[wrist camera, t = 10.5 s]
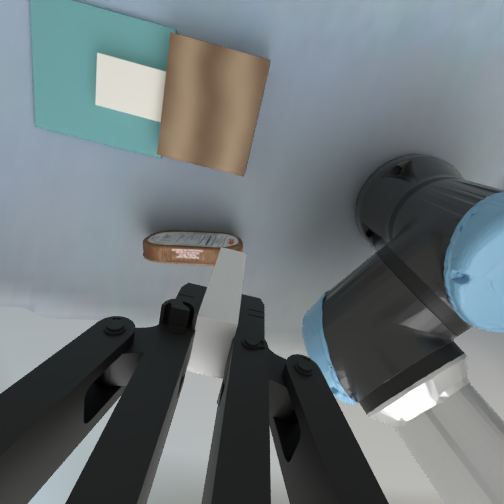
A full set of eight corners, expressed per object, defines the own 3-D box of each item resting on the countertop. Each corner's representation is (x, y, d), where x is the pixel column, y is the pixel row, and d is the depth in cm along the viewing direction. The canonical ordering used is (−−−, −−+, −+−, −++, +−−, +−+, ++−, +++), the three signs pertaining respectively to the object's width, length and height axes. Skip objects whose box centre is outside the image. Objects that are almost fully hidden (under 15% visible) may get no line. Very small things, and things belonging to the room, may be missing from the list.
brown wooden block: (269, 66, 39) (270, 60, 36) (245, 172, 45) (243, 176, 41) (179, 40, 39) (170, 32, 35) (165, 152, 44) (156, 154, 40)
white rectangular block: (173, 74, 40) (168, 72, 38) (167, 122, 42) (162, 122, 40) (105, 55, 39) (97, 52, 37) (102, 105, 41) (95, 104, 39)
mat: (176, 30, 38) (175, 29, 38) (161, 157, 44) (160, 158, 44) (32, -10, 37) (29, -12, 36) (38, 126, 43) (35, 126, 43)
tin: (154, 243, 50) (134, 265, 42) (152, 225, 49) (131, 244, 41) (244, 248, 50) (241, 271, 42) (245, 230, 48) (241, 250, 41)
